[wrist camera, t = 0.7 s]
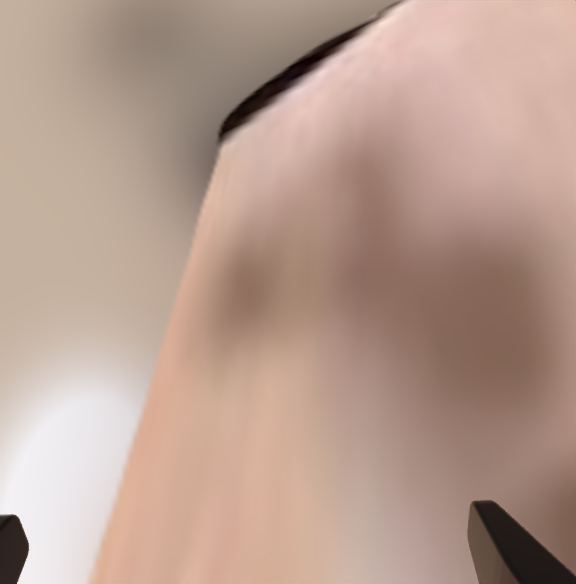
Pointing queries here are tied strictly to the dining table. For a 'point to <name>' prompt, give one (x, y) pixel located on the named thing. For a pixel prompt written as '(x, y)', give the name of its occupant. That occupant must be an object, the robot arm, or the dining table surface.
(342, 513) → the dining table surface
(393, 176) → the dining table surface
